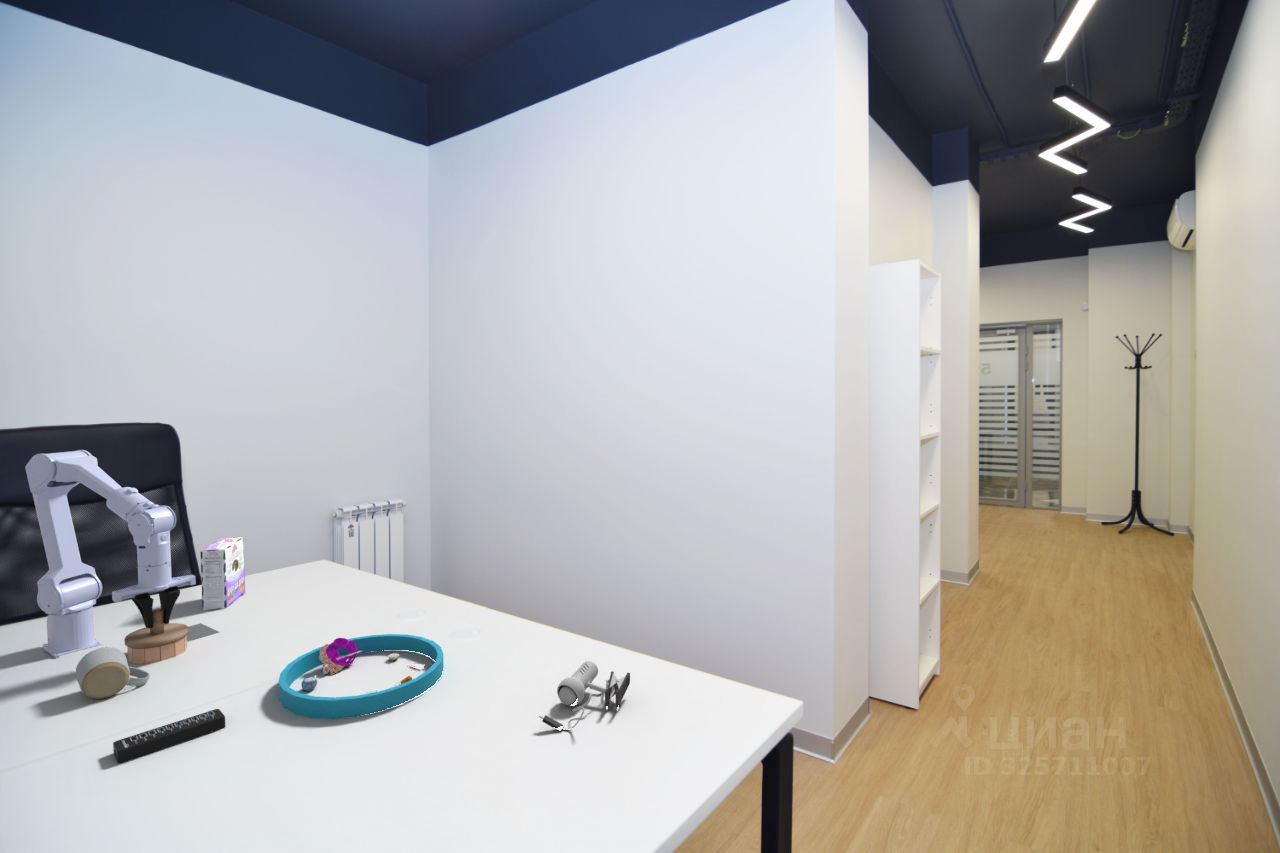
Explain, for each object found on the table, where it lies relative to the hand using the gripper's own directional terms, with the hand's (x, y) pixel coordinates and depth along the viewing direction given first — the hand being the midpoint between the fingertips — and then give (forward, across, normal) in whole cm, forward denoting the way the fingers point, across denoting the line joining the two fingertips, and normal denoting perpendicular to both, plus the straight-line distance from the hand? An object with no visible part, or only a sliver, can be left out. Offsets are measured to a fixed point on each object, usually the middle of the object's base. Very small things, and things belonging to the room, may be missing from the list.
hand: (157, 624), depth 137 cm
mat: (+7, +8, +7) cm, 13 cm away
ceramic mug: (+7, -11, -11) cm, 17 cm away
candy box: (+7, +24, +25) cm, 35 cm away
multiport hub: (+7, -12, -41) cm, 43 cm away
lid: (+3, 0, 0) cm, 3 cm away
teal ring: (+7, +18, -48) cm, 52 cm away
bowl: (+7, 0, 0) cm, 7 cm away
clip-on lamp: (+7, +33, -92) cm, 98 cm away
